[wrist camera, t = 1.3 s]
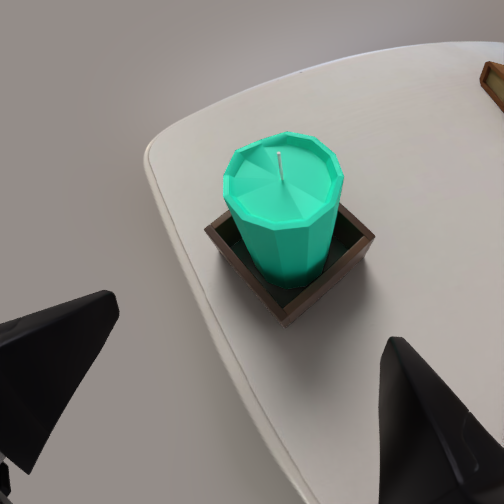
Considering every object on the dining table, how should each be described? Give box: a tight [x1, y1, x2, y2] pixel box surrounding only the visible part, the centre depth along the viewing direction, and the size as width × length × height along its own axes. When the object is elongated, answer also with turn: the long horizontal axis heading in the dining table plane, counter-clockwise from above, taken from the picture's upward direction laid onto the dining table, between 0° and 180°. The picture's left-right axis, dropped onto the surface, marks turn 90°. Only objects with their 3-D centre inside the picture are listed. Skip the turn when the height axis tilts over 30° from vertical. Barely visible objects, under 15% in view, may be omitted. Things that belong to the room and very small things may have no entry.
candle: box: [223, 131, 344, 289], centre depth 17 cm, size 6×6×12 cm
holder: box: [204, 202, 375, 328], centre depth 21 cm, size 9×9×4 cm
